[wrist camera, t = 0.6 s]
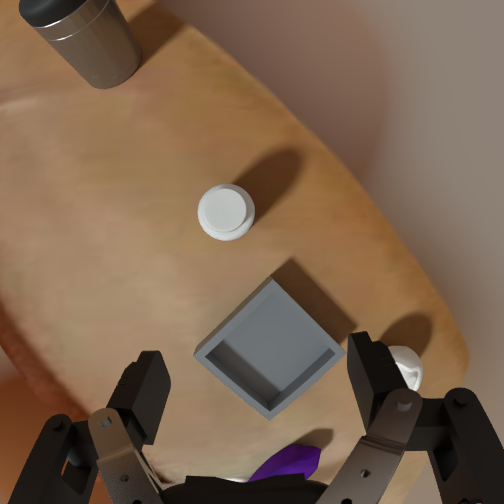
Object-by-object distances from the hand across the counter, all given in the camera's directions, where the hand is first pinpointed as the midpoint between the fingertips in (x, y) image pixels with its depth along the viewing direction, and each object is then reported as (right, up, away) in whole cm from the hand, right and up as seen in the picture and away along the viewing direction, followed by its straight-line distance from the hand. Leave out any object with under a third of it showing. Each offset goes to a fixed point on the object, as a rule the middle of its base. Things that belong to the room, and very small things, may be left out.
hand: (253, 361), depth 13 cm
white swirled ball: (+18, -11, +27) cm, 35 cm away
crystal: (+4, -28, +28) cm, 40 cm away
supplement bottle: (-3, +9, +26) cm, 27 cm away
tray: (+2, -7, +26) cm, 27 cm away
